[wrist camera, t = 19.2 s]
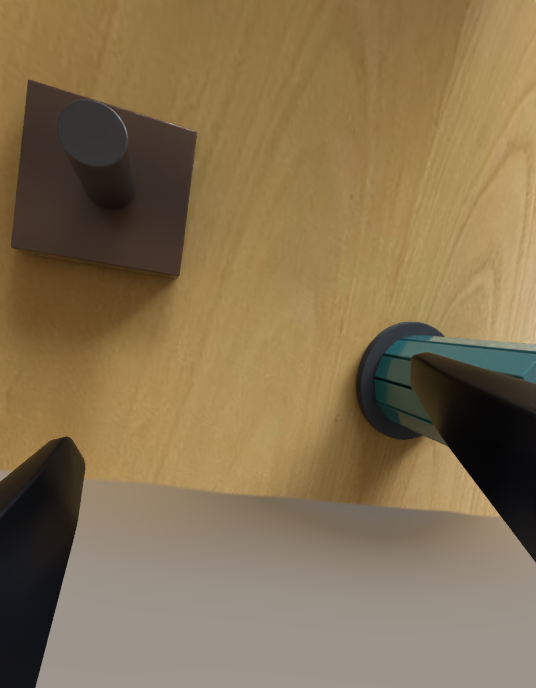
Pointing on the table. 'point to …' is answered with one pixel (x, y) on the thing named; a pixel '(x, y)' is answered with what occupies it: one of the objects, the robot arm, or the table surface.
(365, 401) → the pad
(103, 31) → the table surface
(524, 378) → the slatted teal pen holder
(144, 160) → the stand
